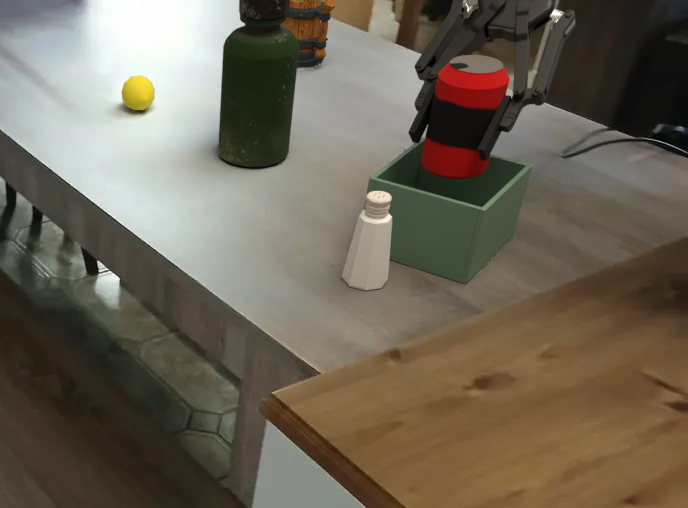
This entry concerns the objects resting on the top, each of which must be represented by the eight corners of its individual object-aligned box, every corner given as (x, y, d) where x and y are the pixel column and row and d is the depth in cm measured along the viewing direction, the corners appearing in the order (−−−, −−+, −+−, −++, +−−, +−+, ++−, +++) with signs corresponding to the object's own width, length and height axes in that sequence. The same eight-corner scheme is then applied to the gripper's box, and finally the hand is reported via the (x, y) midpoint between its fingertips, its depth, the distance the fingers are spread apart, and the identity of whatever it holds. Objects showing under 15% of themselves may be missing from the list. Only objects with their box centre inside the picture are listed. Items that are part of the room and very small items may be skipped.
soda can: (409, 157, 113) (428, 56, 105) (466, 149, 114) (490, 48, 106) (438, 184, 107) (461, 80, 99) (498, 175, 108) (526, 71, 100)
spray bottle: (248, 133, 144) (261, -42, 128) (302, 152, 138) (322, -29, 122) (203, 155, 139) (210, -25, 123) (257, 176, 134) (272, -10, 117)
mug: (257, 55, 170) (262, -12, 162) (301, 44, 173) (308, -23, 165) (301, 77, 161) (309, 6, 153) (347, 64, 164) (357, -5, 156)
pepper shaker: (331, 277, 112) (344, 193, 105) (363, 262, 115) (377, 179, 107) (365, 296, 109) (381, 211, 102) (397, 281, 111) (414, 196, 104)
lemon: (160, 114, 152) (160, 81, 148) (129, 119, 151) (128, 86, 147) (146, 99, 157) (146, 66, 153) (116, 104, 156) (115, 71, 152)
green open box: (512, 236, 118) (533, 164, 111) (465, 284, 110) (485, 210, 104) (408, 205, 125) (422, 137, 118) (357, 249, 117) (369, 178, 111)
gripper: (634, -9, 102) (538, 182, 104) (457, -35, 113) (372, 139, 115) (636, -51, 96) (533, 154, 98) (447, -74, 106) (358, 111, 108)
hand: (447, 146), depth 106 cm, fingers closed on soda can, 7 cm apart
